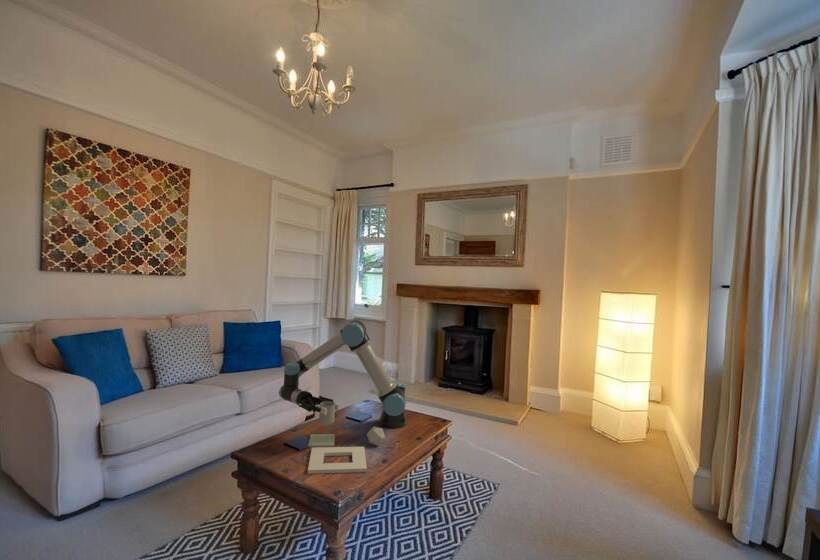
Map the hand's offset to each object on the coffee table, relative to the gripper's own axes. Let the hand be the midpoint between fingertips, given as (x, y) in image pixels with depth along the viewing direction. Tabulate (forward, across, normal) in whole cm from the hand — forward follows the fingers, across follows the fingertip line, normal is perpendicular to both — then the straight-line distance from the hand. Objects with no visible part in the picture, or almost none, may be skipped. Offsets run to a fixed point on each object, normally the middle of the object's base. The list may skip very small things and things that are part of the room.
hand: (332, 409), depth 173 cm
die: (+13, -18, -18) cm, 29 cm away
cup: (-5, 0, -7) cm, 9 cm away
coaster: (-8, -2, -18) cm, 19 cm away
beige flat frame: (+12, +6, -18) cm, 23 cm away
